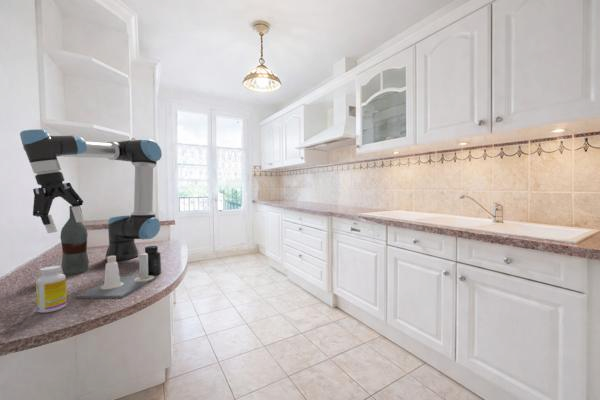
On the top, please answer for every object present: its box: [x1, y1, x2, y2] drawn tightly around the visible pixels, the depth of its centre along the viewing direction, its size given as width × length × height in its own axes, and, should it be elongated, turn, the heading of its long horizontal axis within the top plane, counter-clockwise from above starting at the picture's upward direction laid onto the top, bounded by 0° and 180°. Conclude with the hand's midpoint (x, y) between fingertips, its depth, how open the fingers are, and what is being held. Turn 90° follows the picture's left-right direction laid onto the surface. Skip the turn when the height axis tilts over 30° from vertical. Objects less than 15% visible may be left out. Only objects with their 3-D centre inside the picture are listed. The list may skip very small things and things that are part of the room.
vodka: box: [59, 205, 90, 276], centre depth 117 cm, size 9×9×30 cm
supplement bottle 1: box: [35, 265, 68, 314], centre depth 80 cm, size 7×7×13 cm
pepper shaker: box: [103, 256, 121, 288], centre depth 97 cm, size 5×5×11 cm
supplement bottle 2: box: [144, 245, 162, 276], centre depth 114 cm, size 7×7×12 cm
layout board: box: [75, 252, 157, 299], centre depth 98 cm, size 20×16×11 cm
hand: (67, 226), depth 100 cm, fingers open, 13 cm apart
